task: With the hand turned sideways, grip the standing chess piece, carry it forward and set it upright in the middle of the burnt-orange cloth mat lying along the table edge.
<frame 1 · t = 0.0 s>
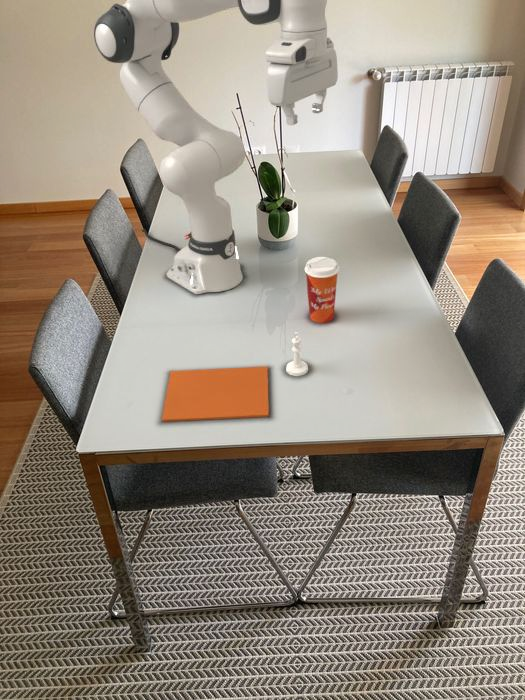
hand: (305, 118, 125), 48 cm above the table, tool pointing down, fingers open, 8 cm apart
coffee cup: (321, 317, 152), on the table
chess piece: (297, 369, 135), on the table
cloth mat: (217, 393, 130), on the table
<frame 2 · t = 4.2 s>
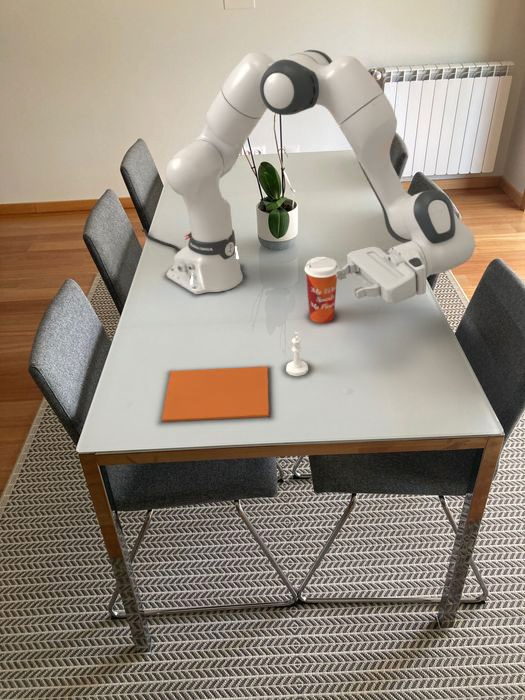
hand: (346, 284, 128), 18 cm above the table, tool horizontal, fingers open, 8 cm apart
nothing on the table moved.
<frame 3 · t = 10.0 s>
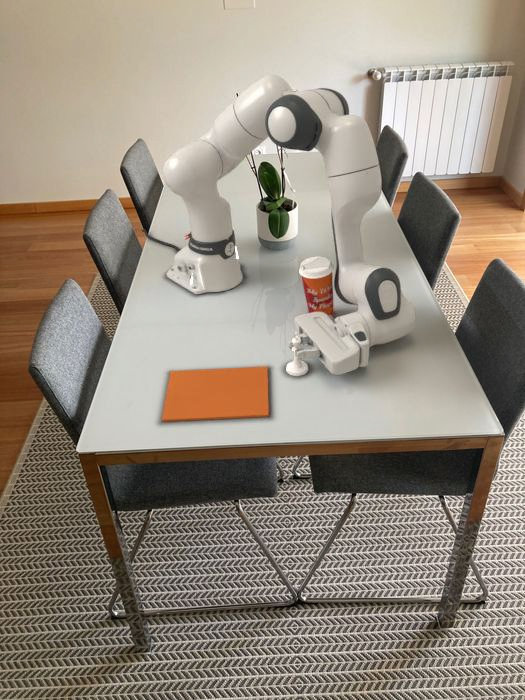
hand: (292, 350, 131), 6 cm above the table, tool horizontal, fingers closed on chess piece
coffee cup: (321, 316, 151), on the table, touching arm
chess piece: (297, 369, 135), on the table, touching gripper
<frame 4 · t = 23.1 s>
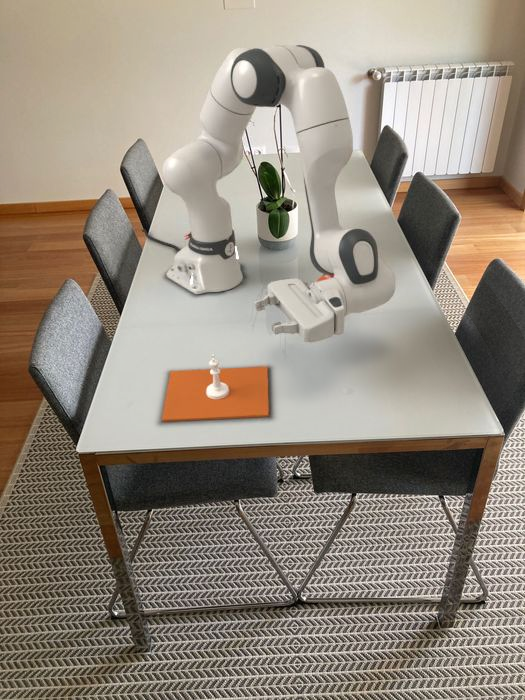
hand: (264, 317, 124), 16 cm above the table, tool horizontal, fingers open, 8 cm apart
coffee cup: (317, 297, 153), point 3 cm above the table
chess piece: (217, 392, 129), resting on cloth mat
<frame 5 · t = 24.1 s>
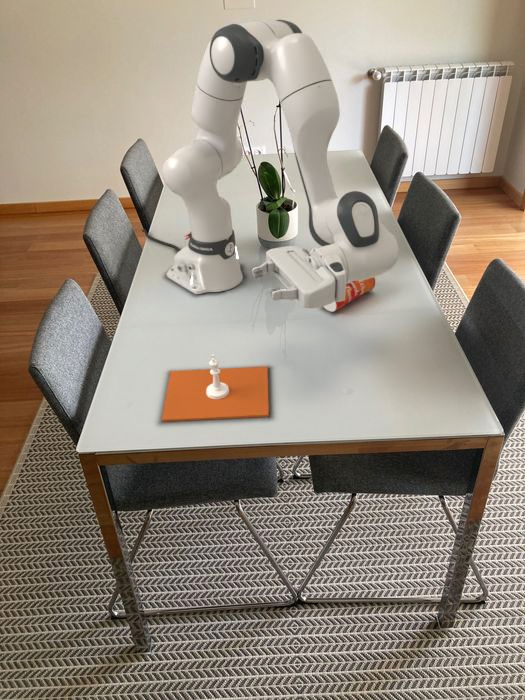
hand: (262, 284, 119), 24 cm above the table, tool horizontal, fingers open, 8 cm apart
coffee cup: (327, 302, 151), point 3 cm above the table
everything else where it was.
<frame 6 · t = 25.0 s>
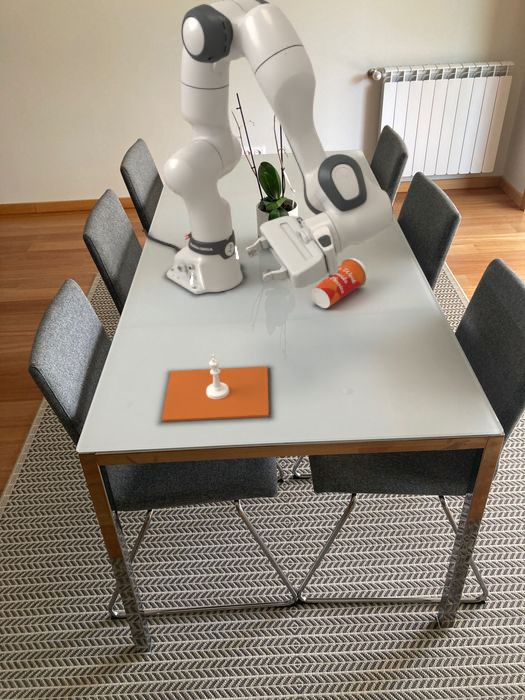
hand: (255, 265, 120), 27 cm above the table, tool horizontal, fingers open, 8 cm apart
coffee cup: (320, 298, 153), point 3 cm above the table
everything else where it was.
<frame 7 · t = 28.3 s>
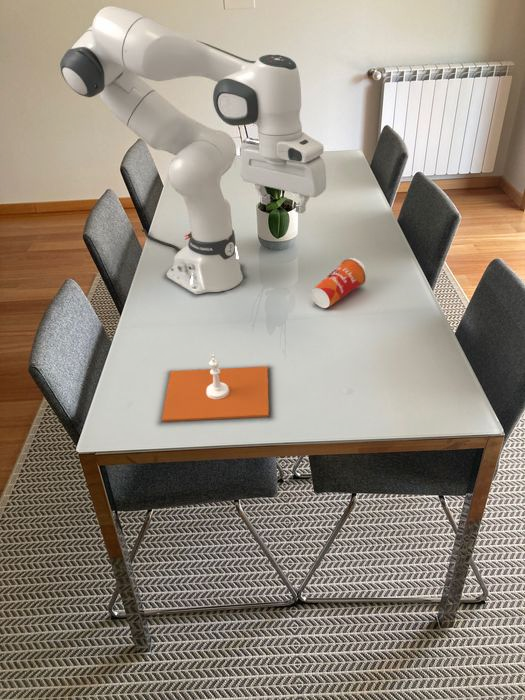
hand: (282, 207, 131), 31 cm above the table, tool pointing down, fingers open, 8 cm apart
nothing on the table moved.
at the end: chess piece inside the target area on the cloth mat (0.1 cm from its centre), point 0.4 cm above the cloth mat's base; chess piece tilted 0°; the gripper is holding nothing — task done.
